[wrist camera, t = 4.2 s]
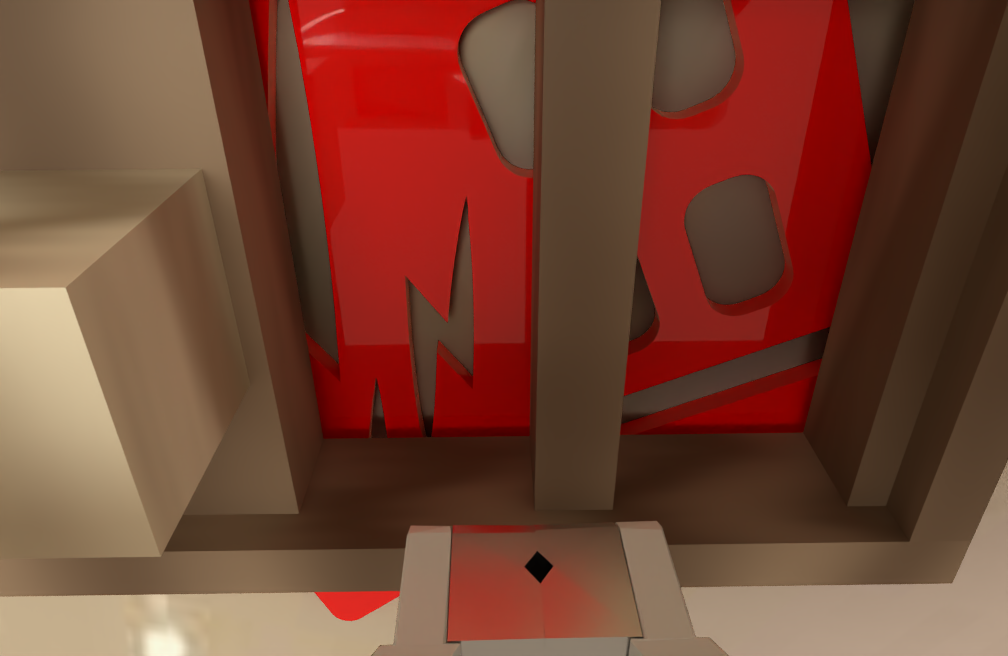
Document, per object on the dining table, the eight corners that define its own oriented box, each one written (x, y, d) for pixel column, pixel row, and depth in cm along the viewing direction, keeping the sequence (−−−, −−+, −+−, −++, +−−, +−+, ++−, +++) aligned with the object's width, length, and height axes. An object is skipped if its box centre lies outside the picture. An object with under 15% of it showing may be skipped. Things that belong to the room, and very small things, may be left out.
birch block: (201, 169, 14) (64, 287, 9) (250, 384, 16) (160, 556, 12) (-62, 171, 14) (-320, 291, 9) (28, 386, 16) (-143, 561, 12)
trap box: (1090, -172, 14) (1308, -203, 10) (875, 470, 22) (952, 583, 18) (-448, -161, 13) (-798, -188, 10) (-87, 483, 21) (-205, 599, 18)
